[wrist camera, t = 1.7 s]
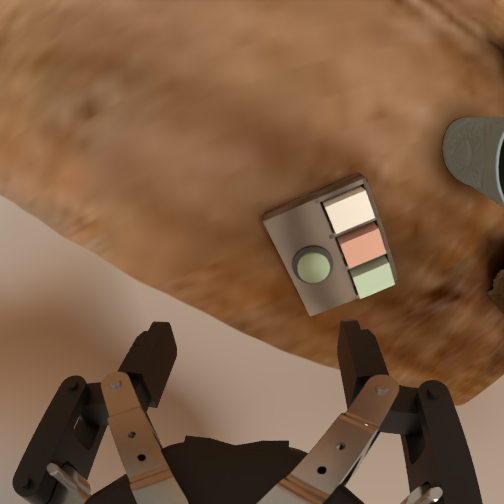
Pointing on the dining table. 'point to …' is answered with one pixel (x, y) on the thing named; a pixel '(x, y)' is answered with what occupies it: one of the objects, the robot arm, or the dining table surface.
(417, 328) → the dining table surface
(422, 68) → the dining table surface
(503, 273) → the brown lantern
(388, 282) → the sage key
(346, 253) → the terracotta key
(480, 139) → the grey-green tumbler
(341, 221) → the cream key
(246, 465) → the robot arm
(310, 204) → the key console
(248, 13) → the dining table surface
